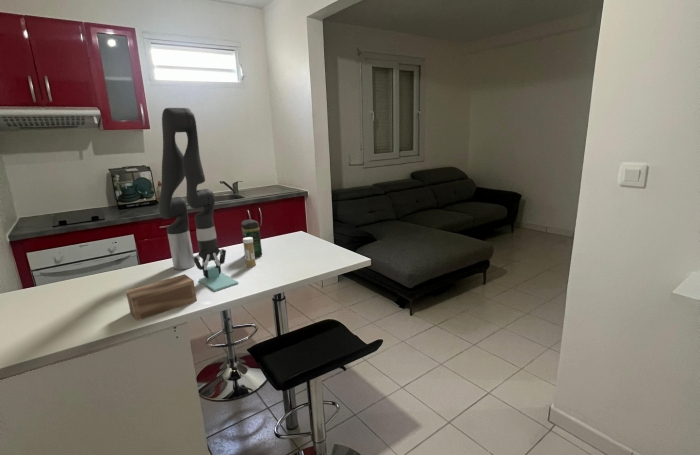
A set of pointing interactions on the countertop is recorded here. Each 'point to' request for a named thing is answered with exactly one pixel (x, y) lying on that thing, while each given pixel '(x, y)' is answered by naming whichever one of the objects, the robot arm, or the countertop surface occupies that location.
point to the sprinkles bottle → (249, 251)
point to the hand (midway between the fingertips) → (212, 275)
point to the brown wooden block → (161, 296)
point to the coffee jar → (252, 235)
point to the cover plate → (217, 279)
